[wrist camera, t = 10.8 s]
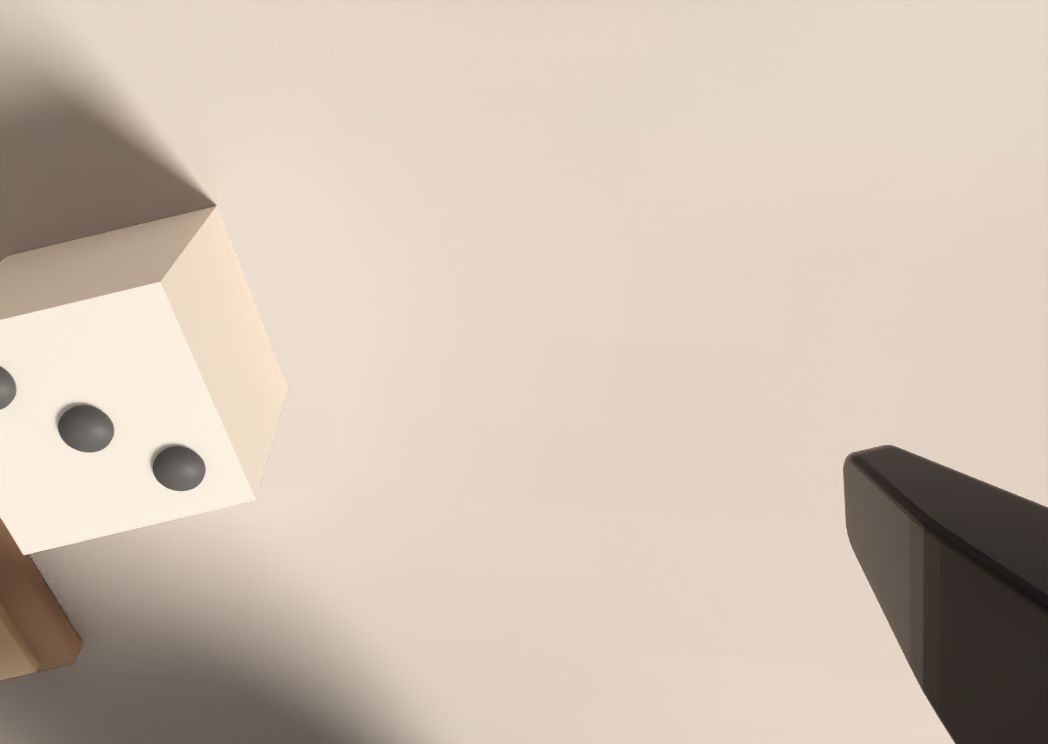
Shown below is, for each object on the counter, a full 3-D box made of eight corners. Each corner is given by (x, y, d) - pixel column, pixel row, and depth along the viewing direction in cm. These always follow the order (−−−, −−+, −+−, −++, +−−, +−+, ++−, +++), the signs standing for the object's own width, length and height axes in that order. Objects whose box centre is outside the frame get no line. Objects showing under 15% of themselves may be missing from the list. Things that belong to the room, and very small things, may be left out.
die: (288, 388, 21) (255, 503, 16) (101, 432, 21) (21, 558, 16) (217, 204, 18) (158, 284, 14) (9, 254, 18) (-109, 347, 14)
